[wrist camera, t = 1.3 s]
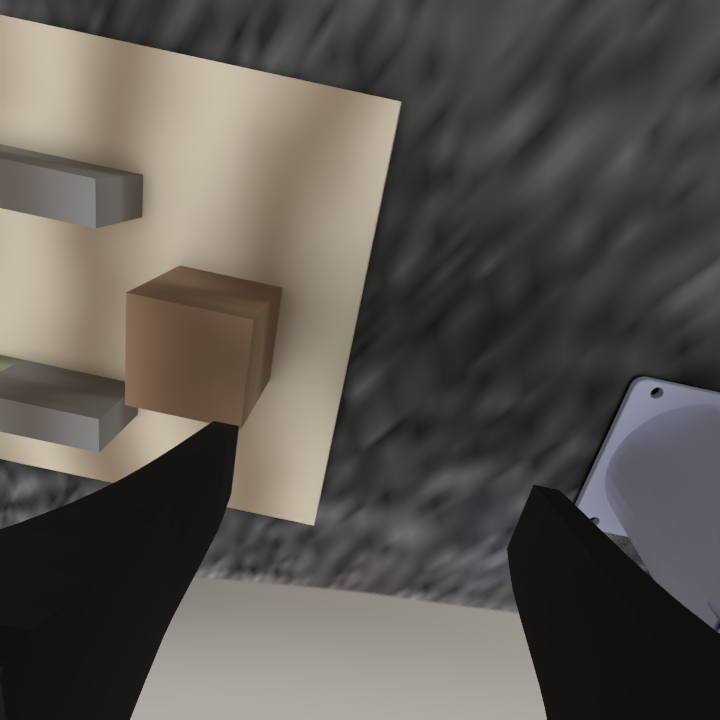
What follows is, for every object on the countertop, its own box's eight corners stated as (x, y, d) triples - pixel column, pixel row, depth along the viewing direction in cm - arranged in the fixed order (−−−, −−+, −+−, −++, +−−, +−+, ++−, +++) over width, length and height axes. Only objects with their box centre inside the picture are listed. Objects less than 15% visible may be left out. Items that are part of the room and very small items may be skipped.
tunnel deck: (401, 107, 18) (401, 90, 13) (320, 498, 25) (302, 575, 20) (-330, -52, 18) (-584, -123, 13) (-205, 386, 25) (-342, 439, 20)
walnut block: (282, 287, 19) (253, 319, 15) (269, 380, 20) (240, 429, 17) (179, 265, 19) (125, 292, 15) (174, 359, 20) (124, 404, 17)
